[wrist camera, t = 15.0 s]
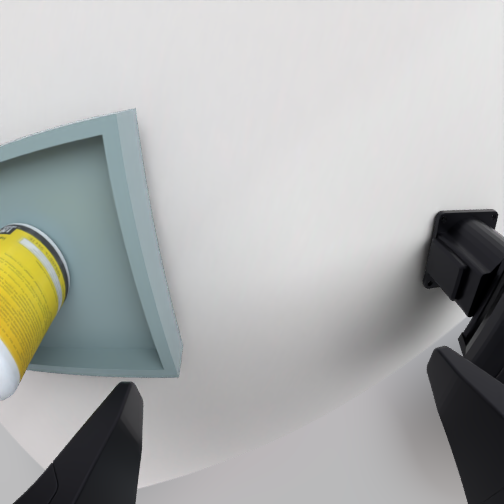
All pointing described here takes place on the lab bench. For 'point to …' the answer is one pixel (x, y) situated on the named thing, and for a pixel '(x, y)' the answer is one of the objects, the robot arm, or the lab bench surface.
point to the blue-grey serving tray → (95, 247)
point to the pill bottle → (27, 297)
